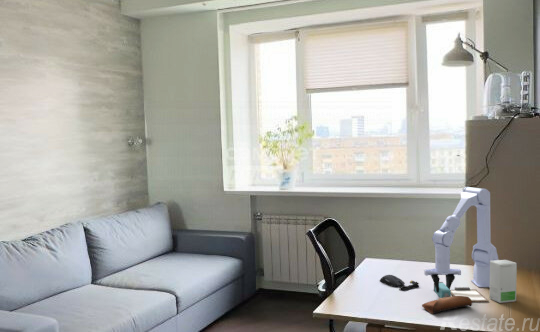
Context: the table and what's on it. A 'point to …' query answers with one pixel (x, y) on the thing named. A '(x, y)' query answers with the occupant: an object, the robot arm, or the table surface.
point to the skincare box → (503, 281)
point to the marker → (443, 290)
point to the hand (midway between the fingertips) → (442, 291)
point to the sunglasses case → (447, 303)
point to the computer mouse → (397, 282)
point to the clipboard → (469, 294)
